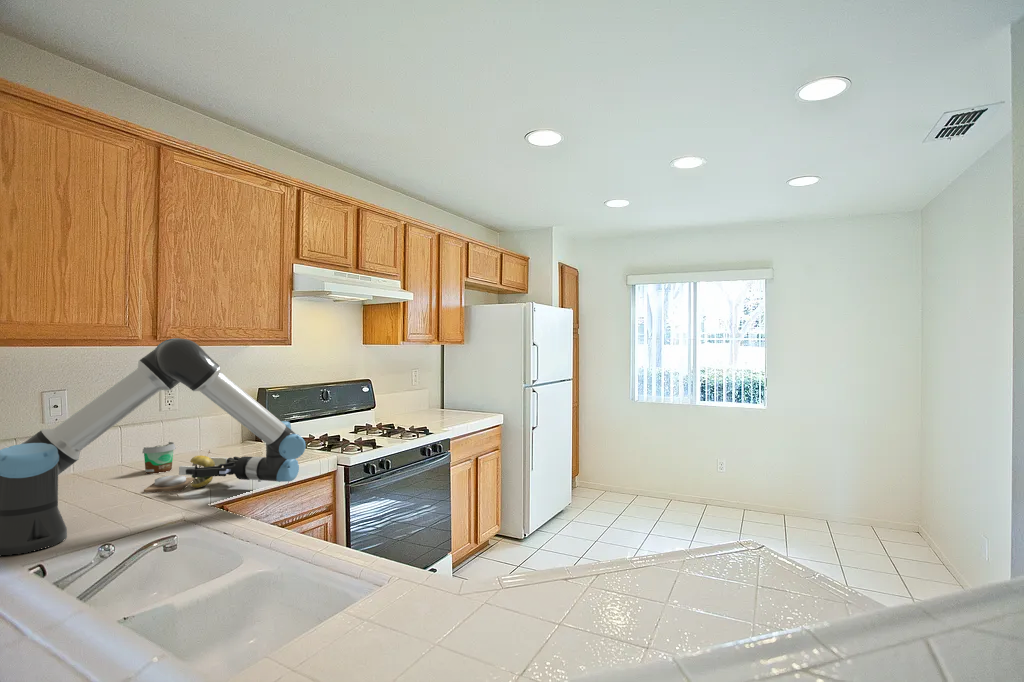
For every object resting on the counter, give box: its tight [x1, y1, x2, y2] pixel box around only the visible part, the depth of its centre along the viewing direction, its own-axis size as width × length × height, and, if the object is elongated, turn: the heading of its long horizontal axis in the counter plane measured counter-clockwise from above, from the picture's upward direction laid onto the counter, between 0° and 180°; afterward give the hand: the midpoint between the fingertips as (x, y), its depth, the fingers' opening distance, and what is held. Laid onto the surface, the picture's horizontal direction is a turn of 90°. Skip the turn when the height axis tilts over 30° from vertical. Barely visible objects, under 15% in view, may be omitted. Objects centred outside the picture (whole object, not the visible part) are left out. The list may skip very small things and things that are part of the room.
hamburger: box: [189, 449, 215, 489], centre depth 182 cm, size 8×7×12 cm
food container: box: [142, 441, 176, 474], centre depth 203 cm, size 12×6×10 cm, turn 168°
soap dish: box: [143, 474, 194, 493], centre depth 182 cm, size 11×14×3 cm
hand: (195, 465), depth 183 cm, fingers open, 13 cm apart
